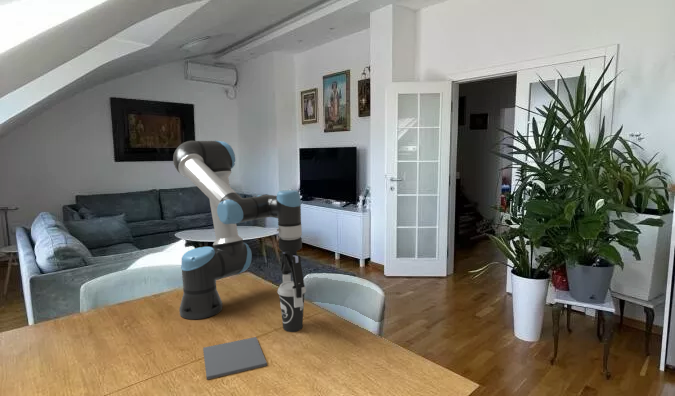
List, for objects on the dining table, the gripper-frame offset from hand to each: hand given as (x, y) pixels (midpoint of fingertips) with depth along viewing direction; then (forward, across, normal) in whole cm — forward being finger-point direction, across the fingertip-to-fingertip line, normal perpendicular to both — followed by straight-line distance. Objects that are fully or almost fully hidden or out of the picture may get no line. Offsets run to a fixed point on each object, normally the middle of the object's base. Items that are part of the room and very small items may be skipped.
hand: (292, 299), depth 126 cm
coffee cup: (+10, 0, 0) cm, 10 cm away
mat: (+10, +11, -21) cm, 26 cm away
